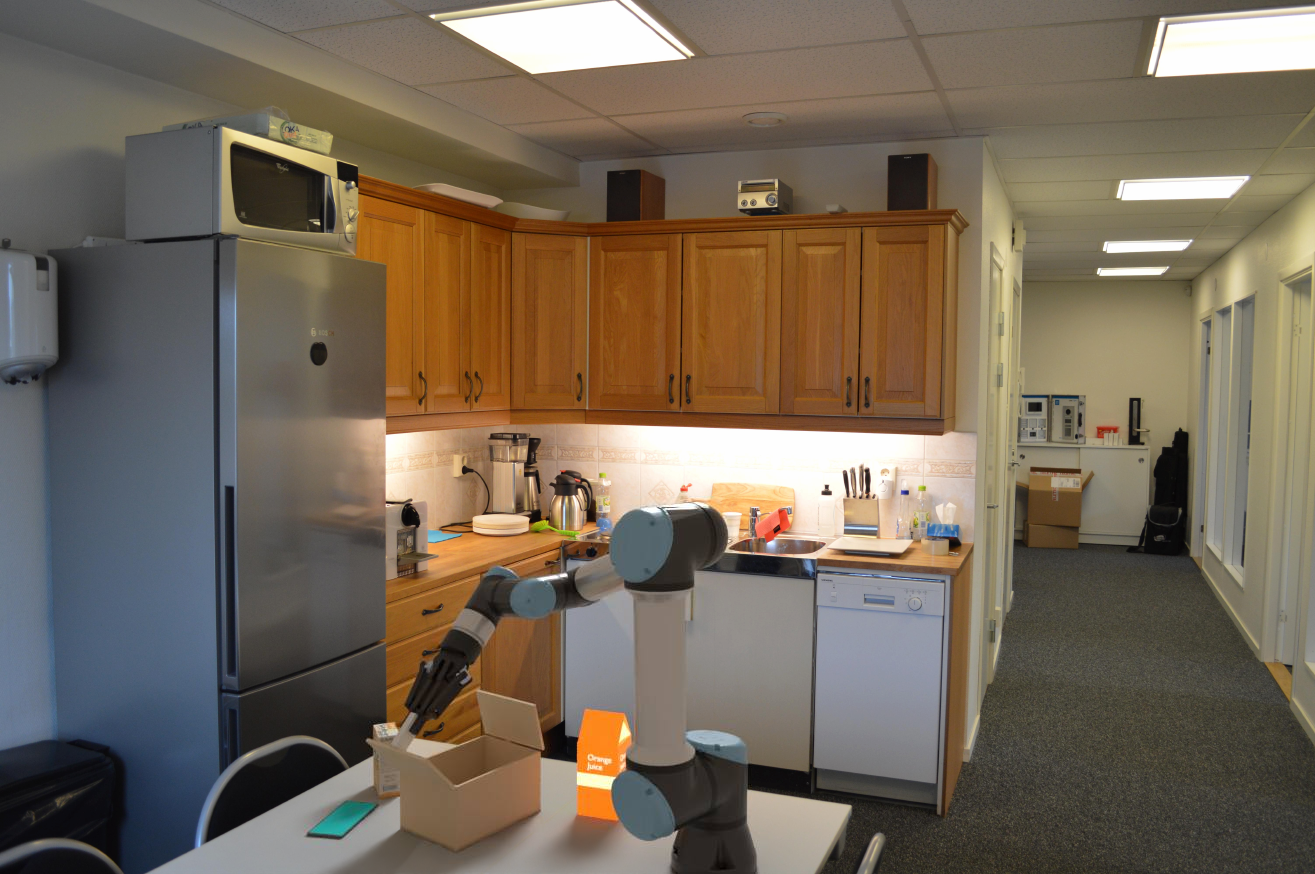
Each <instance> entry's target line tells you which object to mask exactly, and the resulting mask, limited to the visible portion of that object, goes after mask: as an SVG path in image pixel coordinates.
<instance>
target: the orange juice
mask: <svg viewBox="0 0 1315 874" xmlns="http://www.w3.org/2000/svg"><path fill="white" fill-rule="evenodd" d="M631 743H632V733H631V729H630V726H629V723H628V721H627V717H626V715H625V713H621V712H612V711H606V710H605V711H604V710H603V711H602V710H595V709H584V713H583V718H582V722H581V726H580V731H579V735H578V740H577V742H576V744H577V745H576V747H577V748H576V750H577V751H576V752H577V753H576V760H577V761H576V763H577V764H576V766H577V768H576V769H577V771H576V786H577V787H576V788H577V791H576V793H577V794H576V795H577V796H576V797H577V798H576V799H577V800H576V804H577V805H576V808H577V809H576V810H577V811H576V813H577V814H576V815H580V816H584V817H590V818H593V817H594V818H598V819H603V820H612V821H617V822H618V821H620V820H619V819H618V817H617V815H616V813H615V810H614V808H613V804H612V799H611V786H612V782H613V780H614V779H615V778H616V776H617V775H618V774H619V773H620V772H622V771H625V761H626V757H625V751H626V749H627V747H628V746H629V745H630V744H631Z"/></svg>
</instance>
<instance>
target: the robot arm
mask: <svg viewBox="0 0 1315 874" xmlns="http://www.w3.org/2000/svg"><path fill="white" fill-rule="evenodd" d="M728 545H729V529H728V525H727V523H726V520H725V518H724V516H723V515H721V513H720V512H719V511H718V510H717V509H715V508H713V506H711V505H709V504H706V503H704V502H698V501H688V502H683V503H682V502H681V503H670V504H668V503H667V504H659V505H657V504H656V505H654V504H653V505H645V506H642V507H640V508H635V509H632V510H629V511H627V512H626V513H624V514H623V515H622V516H621V518H620V519H619V520H618V521H617V522H616V523H615V524H614V526H613V528H612V531H611V533H610V538H609V542H608V553H607V554H605V555H601V556H600V557H598V558H595V559H592V560H590V561H589V562H586V563H584V564H582V565H580V566H577V567H575V568H573V569H570V570H566V571H560V572H556V573H550V574H543V575H537V576H531V577H525V578H523V577H522V578H520V577H519V576H518V575H517V573H515V572H514V571H513V570H511V569H509V568H507V567H503V566H501V565H494V566H492V567H490V568H489V569H488V570H487V572H486V573H485V575H484V576H483V577H482V578H481V579H480V580H479V583H478V584H477V586H476V588H475V590H474V591H473V593H472V595H471V596H470V597H469V599H468V600H467V602H466V604H465V605H464V607H463V609H461V612H459V614H458V616H457V617H456V619H455V620H454V622H453V623H452V626H451V629H449V630H448V631H447V633H446V634H445V636H444V638H443V639H442V641H441V643H440V650H439V652H438V653H437V654H436V655H435V656H434V657H433V660H430V661H428V662H426V660H422V661H421V662H420V663H419V669H418V672H417V674H416V677H415V680H414V682H413V684H412V686H411V688H410V691H409V693H408V695H407V697H406V700H405V702H404V705H403V706H404V707H405V708H406V709H407V711H408V713H407V715H406V716H405V717H404V719H403V721H402V723H401V724H400V726H399V729H398V730H399V732H398V733H397V735H396V736H395V738H394V739H393V741H392V742H391V745H392V746H393V747H395V748H398V749H401V750H404V751H407V750H408V748H409V747H410V745H411V743H413V741H414V739H415V738H416V737H417V736H418V735H419V734H420V732H421V731H422V729H423V727H424V726H425V724H426V722H429V721H430V720H435V721H437V720H438V719H440V717H441V715H443V713H444V712H445V711H446V710H447V709H448V707H450V705H451V704H452V703H453V701H454V700H455V699H456V698H457V697H458V695H460V693H462V691H463V689H465V687H467V686H468V685H470V684H471V683H472V682H473V680H474V678H473V677H472V676H471V675H470V674H469V669H470V666H473V665H474V664H476V662H477V660H478V658H479V657H480V655H481V653H482V652H483V647H485V646H486V645H487V643H488V641H490V639H491V636H492V635H493V634H494V632H495V630H496V629H497V628H498V625H499V624H500V622H501V621H502V619H503V618H512V619H514V618H516V619H526V620H533V619H543V618H546V617H547V616H549V614H552V613H553V614H554V613H557V612H561V611H566V610H571V609H576V608H577V609H578V608H584V607H585V608H586V607H589V606H591V605H594V604H597V603H598V602H600V601H601V599H603V598H606V597H608V596H611V595H613V594H615V593H618V592H621V591H624V590H625V591H626V592H627V593H628V594H629V595H630V596H631V597H632V600H633V604H632V605H633V702H634V703H633V713H634V714H633V715H634V716H633V718H634V719H633V721H634V722H633V723H634V724H633V725H634V726H633V729H634V731H633V732H634V738H633V739H634V740H633V741H631V744H630V745H629V746H628V747H627V749H626V751H625V757H626V761H625V771H622V772H620V773H619V774H618V775H617V776H616V778H615V779H614V780H613V782H612V786H611V799H612V804H613V808H614V810H615V813H616V815H617V817H618V819H619V820H618V821H620V822H621V824H622V826H623V827H624V829H625V830H626V831H627V832H628V833H629V834H630V835H632V836H633V837H635V838H636V839H639V840H641V841H645V842H653V841H656V840H659V839H662V838H667V837H670V836H671V835H673V833H675V832H676V835H675V839H674V841H673V844H672V848H671V854H670V856H671V858H670V861H671V862H670V865H671V867H672V871H674V873H676V874H755V873H756V871H757V869H758V868H757V867H758V865H757V864H758V860H757V859H758V855H757V849H756V847H755V844H754V841H753V836H752V833H751V830H750V828H749V825H748V772H749V771H748V765H749V761H748V749H747V745H746V743H745V741H744V740H743V739H742V738H740V737H739V736H737V735H734V734H732V733H731V734H730V733H727V732H724V731H723V732H722V731H718V730H710V729H709V730H708V729H696V730H695V729H694V730H690V731H687V695H686V694H687V686H686V685H687V682H686V677H687V676H686V673H687V671H686V669H687V668H686V667H687V665H686V663H687V661H686V649H687V647H686V598H687V596H688V595H689V594H690V593H691V592H692V591H693V590H694V589H695V571H699V570H702V569H706V568H708V567H711V566H713V565H714V564H716V563H717V562H718V561H720V559H721V558H722V557H723V555H724V554H725V552H726V550H727V547H728Z"/></svg>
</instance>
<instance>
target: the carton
mask: <svg viewBox="0 0 1315 874" xmlns="http://www.w3.org/2000/svg"><path fill="white" fill-rule="evenodd" d="M541 751H542V750H538V749H537V750H536V749H535V748H532V747H528V746H525V745H522V744H521V745H520V744H518V743H515V742H512V741H508V740H507V741H506V740H505V739H502V738H498V737H495V736H492V735H490V736H489V735H488V734H484V735H481V736H479V737H476V738H472V739H470V740H468V741H465V742H463V743H460V744H457V745H454V746H452V747H449V748H447V749H444V750H442V751H438V752H436V753H433V754H431V755H428V756H425V758H427V759H428V760H429V761H430V762H431V763H432V764H433V765H434V766H435V767H436V768H437V769H438V770H439V771H440V772H441V773H442V774H443V775H444V776H445V777H446V778H447V779H448V780H449V781H450V782H452V783H453V784H454V785H455V786H456V789H455V790H452V789H450V788H447V787H444V786H441V785H438V784H436V783H433V782H430V781H427V780H425V779H422V778H419V777H416V776H414V775H411V774H408V773H405V772H402V771H400V795H399V824H400V825H399V830H402V831H404V832H407V833H409V834H411V835H413V836H416V837H418V838H421V839H424V840H426V841H428V842H430V843H432V844H435V845H438V846H441V847H442V848H445V849H447V850H449V851H452V852H454V853H459V852H461V851H464V850H465V849H467V848H469V847H471V846H473V845H475V844H477V843H479V842H481V841H483V840H485V839H487V838H489V837H491V836H493V835H495V834H498V832H499V833H500V831H502V830H503V831H504V830H505V829H507V828H509V827H511V826H513V825H515V824H518V823H519V822H520V821H522V820H525V819H527V818H529V817H531V816H533V815H535V814H537V813H538V812H541V810H542V807H541V806H542V803H541V801H542V799H541V798H542V797H541V795H542V794H541V793H542V792H541V791H542V790H541V789H542V788H541V787H542V786H541V782H542V779H541V778H542V777H541V776H542V775H541V774H542V773H541V772H542V770H541V769H542V767H541V766H542V765H541Z"/></svg>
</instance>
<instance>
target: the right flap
mask: <svg viewBox="0 0 1315 874" xmlns="http://www.w3.org/2000/svg"><path fill="white" fill-rule="evenodd" d="M475 694H476V698H477V704H478V707H479V712H480V718H481V721H482V725H483V730H484V731H483V732H484V733H485V735H490V736H492V737H495V738H499V739H502V740H505V741H506V740H507V741H509V742H512V743H515V744H519V745H520V744H521V745H522V746H525V747H529V748H532V749H535V750H536V749H537V750H539V751H544V750H545V749H546V748H545V744H544V739H543V734H542V730H541V729H542V728H541V724H540V719H539V715H538V710H537V709H538V708H537V705H536V703H531V702H528V701H525V700H524V701H523V700H519V699H516V698H512V697H509V696H506V695H505V696H504V695H501V694H497V693H493V692H489V691H485V690H482V689H476V690H475Z"/></svg>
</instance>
